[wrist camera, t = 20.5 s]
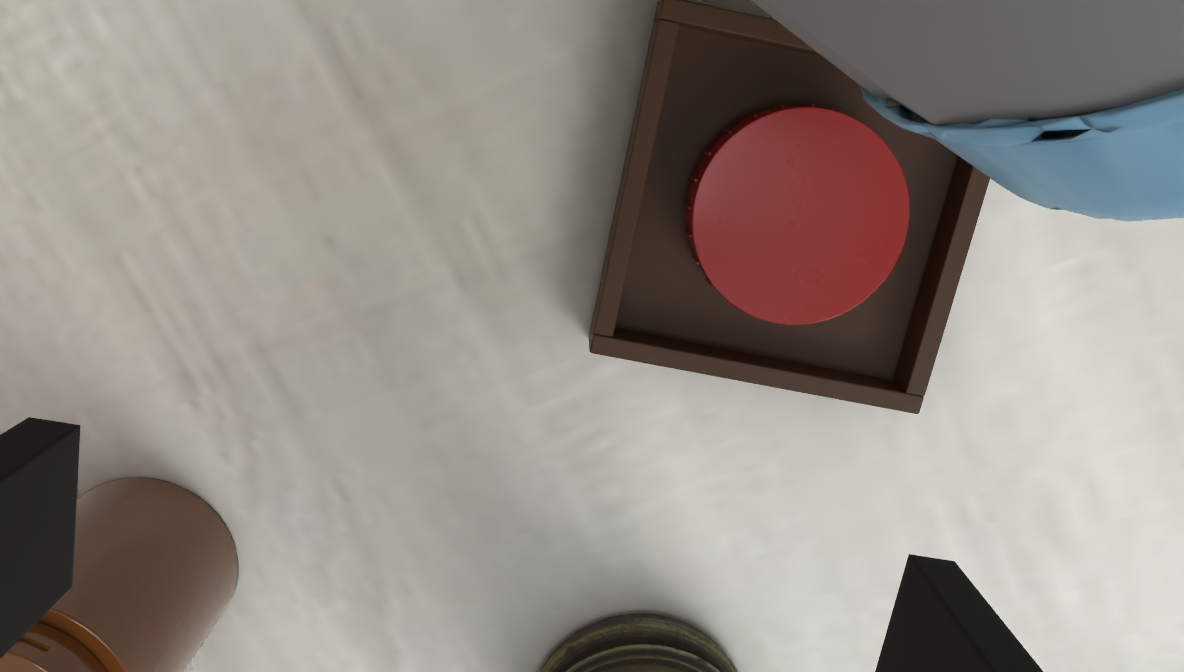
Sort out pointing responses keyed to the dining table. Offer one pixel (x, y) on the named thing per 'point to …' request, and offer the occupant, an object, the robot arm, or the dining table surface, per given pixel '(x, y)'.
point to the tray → (678, 285)
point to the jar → (135, 584)
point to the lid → (797, 214)
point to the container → (639, 648)
